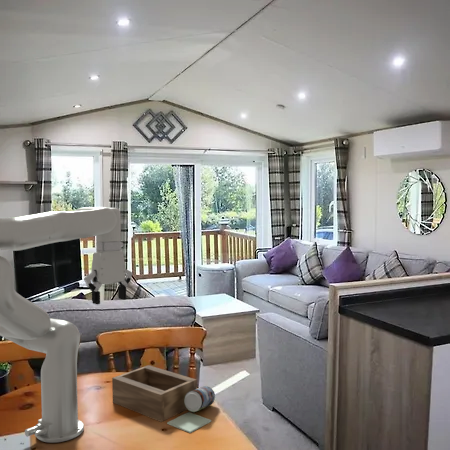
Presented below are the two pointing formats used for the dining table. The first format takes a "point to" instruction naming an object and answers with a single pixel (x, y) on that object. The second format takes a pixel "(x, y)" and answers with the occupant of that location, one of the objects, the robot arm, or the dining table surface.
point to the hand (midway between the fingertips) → (109, 301)
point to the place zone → (189, 422)
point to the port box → (152, 392)
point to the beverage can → (199, 398)
